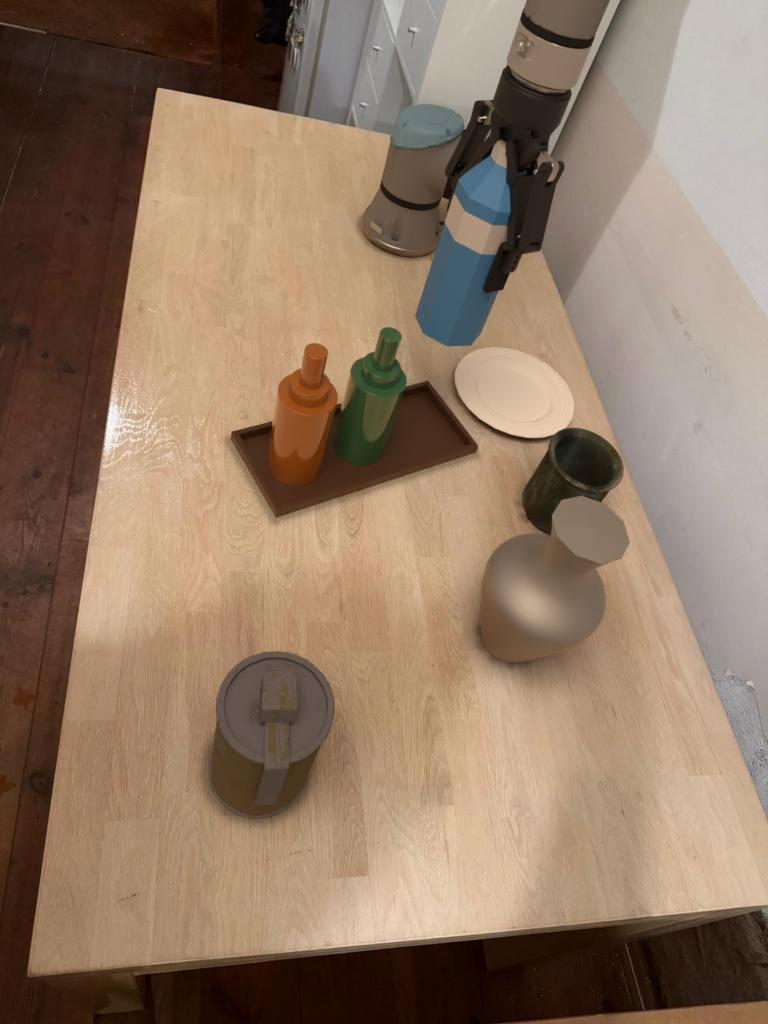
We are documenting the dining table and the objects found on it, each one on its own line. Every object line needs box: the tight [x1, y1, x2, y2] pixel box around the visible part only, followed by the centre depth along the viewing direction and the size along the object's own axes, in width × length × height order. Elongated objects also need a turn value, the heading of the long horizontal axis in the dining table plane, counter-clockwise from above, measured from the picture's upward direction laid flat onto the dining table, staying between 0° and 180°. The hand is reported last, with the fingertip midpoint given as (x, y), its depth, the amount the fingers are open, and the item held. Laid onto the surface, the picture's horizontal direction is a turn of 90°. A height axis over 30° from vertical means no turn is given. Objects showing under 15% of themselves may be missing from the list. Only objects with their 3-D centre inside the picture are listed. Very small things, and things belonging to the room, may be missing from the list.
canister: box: [208, 650, 336, 820], centre depth 71 cm, size 11×10×20 cm
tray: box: [230, 380, 479, 518], centre depth 108 cm, size 34×15×2 cm, turn 121°
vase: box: [479, 496, 631, 664], centre depth 85 cm, size 14×14×25 cm
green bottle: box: [333, 326, 408, 466], centre depth 100 cm, size 8×8×21 cm
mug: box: [521, 427, 625, 535], centre depth 105 cm, size 11×15×12 cm
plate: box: [454, 346, 576, 439], centre depth 123 cm, size 21×21×2 cm
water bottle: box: [414, 140, 527, 347], centre depth 90 cm, size 9×9×25 cm
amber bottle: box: [267, 342, 339, 486], centre depth 96 cm, size 8×8×21 cm
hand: (470, 264), depth 93 cm, fingers closed on water bottle, 9 cm apart
